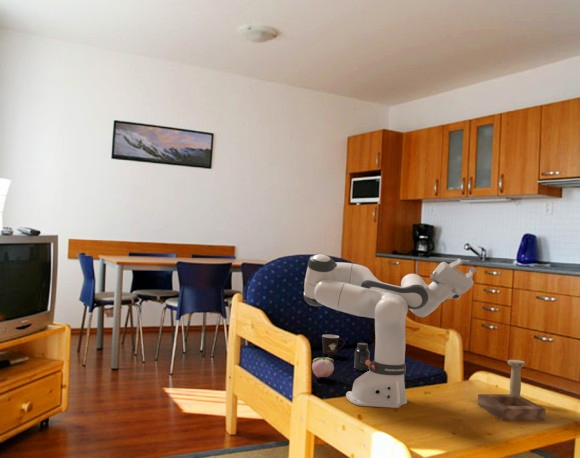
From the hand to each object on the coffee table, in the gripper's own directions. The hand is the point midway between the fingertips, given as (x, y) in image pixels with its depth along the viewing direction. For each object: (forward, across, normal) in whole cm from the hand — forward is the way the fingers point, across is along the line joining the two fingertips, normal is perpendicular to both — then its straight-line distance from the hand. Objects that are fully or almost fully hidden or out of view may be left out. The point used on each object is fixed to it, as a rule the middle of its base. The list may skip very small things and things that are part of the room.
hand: (468, 264), depth 203 cm
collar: (-24, +15, +48) cm, 56 cm away
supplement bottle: (-70, +6, -1) cm, 70 cm away
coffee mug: (-85, +11, -23) cm, 89 cm away
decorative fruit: (-74, -18, +7) cm, 77 cm away
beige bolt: (-25, +30, +39) cm, 56 cm away
